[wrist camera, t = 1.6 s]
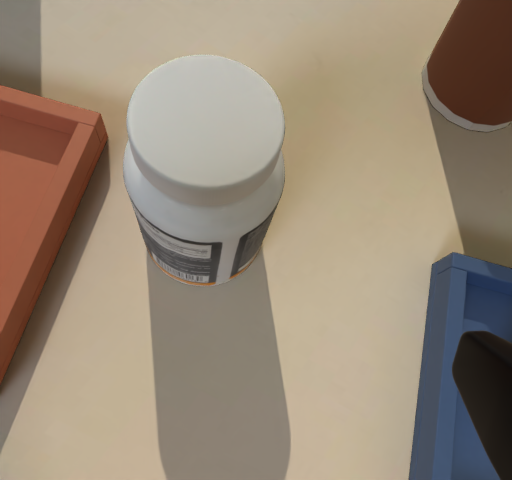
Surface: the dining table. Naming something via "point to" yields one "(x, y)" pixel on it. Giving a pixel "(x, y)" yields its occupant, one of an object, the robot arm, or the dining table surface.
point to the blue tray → (441, 359)
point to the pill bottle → (204, 165)
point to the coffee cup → (473, 66)
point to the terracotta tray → (38, 196)
